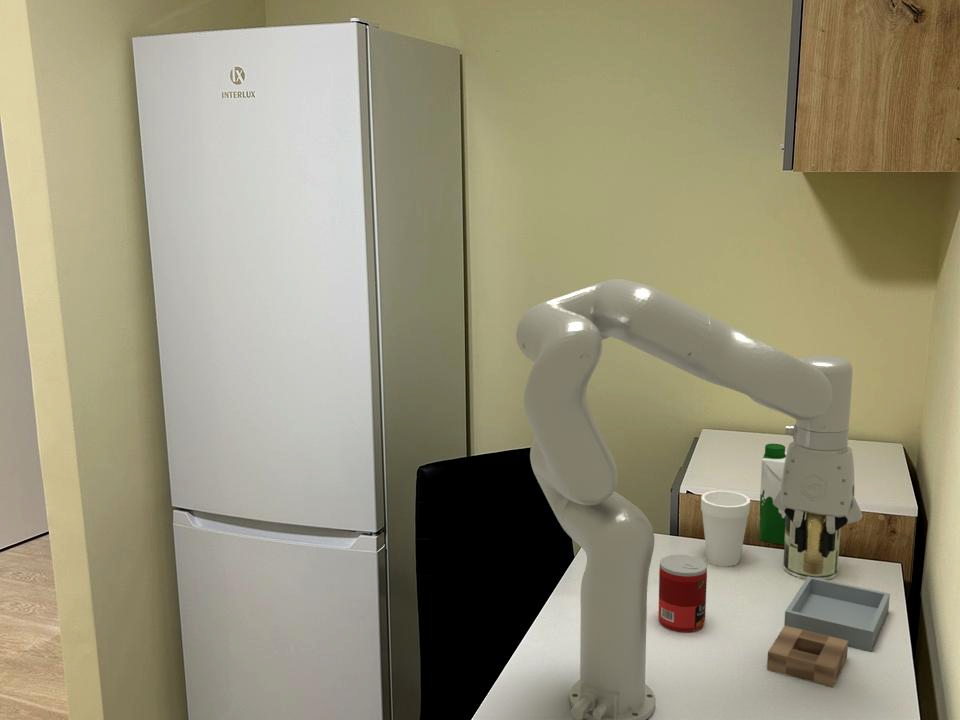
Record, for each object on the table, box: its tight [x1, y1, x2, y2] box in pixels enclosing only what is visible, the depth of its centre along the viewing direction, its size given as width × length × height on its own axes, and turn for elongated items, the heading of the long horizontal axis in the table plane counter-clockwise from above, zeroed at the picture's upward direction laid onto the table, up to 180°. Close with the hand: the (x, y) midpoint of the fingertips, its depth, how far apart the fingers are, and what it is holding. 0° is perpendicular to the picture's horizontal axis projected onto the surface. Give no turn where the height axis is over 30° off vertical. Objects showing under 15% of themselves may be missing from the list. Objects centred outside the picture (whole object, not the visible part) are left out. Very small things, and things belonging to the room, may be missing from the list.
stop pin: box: [803, 512, 826, 574], centre depth 144 cm, size 3×3×10 cm
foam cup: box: [700, 490, 751, 567], centre depth 186 cm, size 10×9×13 cm
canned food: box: [658, 554, 708, 633], centre depth 161 cm, size 8×8×11 cm
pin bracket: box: [766, 626, 849, 688], centre depth 148 cm, size 10×10×3 cm
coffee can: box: [782, 515, 841, 581], centre depth 181 cm, size 10×10×14 cm
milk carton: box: [759, 443, 787, 545], centre depth 196 cm, size 9×9×20 cm
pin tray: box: [783, 576, 891, 653], centre depth 162 cm, size 16×14×4 cm
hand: (814, 550), depth 145 cm, fingers closed on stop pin, 3 cm apart
